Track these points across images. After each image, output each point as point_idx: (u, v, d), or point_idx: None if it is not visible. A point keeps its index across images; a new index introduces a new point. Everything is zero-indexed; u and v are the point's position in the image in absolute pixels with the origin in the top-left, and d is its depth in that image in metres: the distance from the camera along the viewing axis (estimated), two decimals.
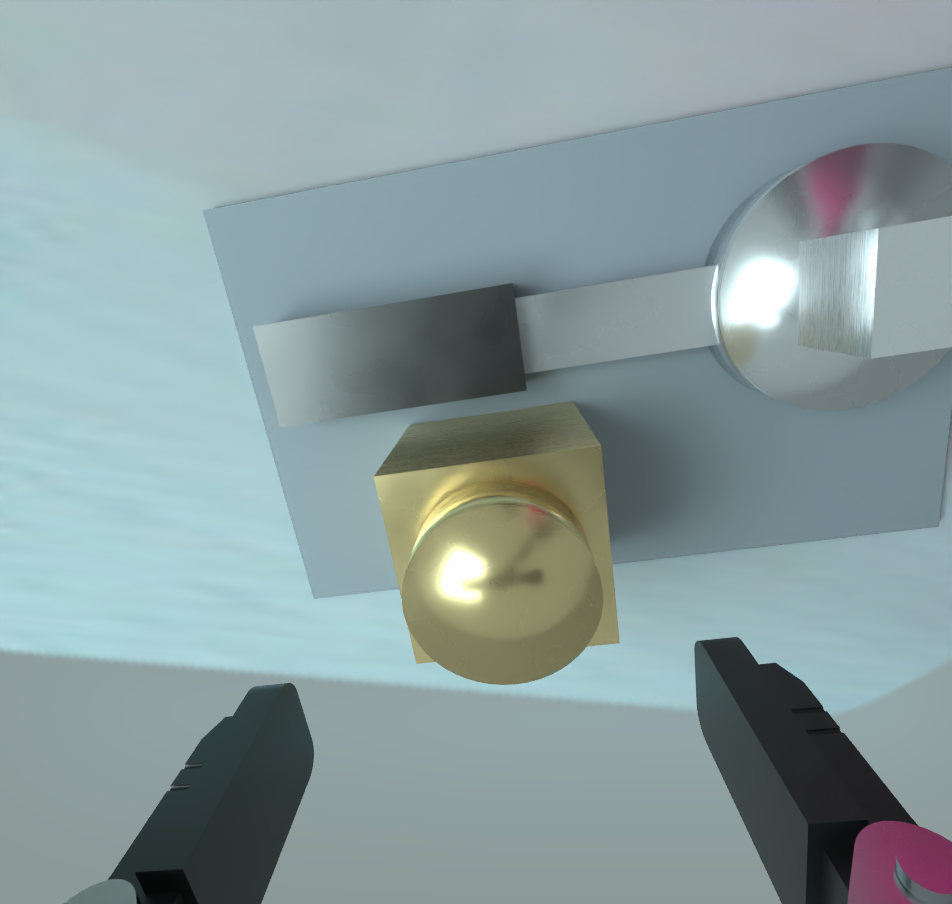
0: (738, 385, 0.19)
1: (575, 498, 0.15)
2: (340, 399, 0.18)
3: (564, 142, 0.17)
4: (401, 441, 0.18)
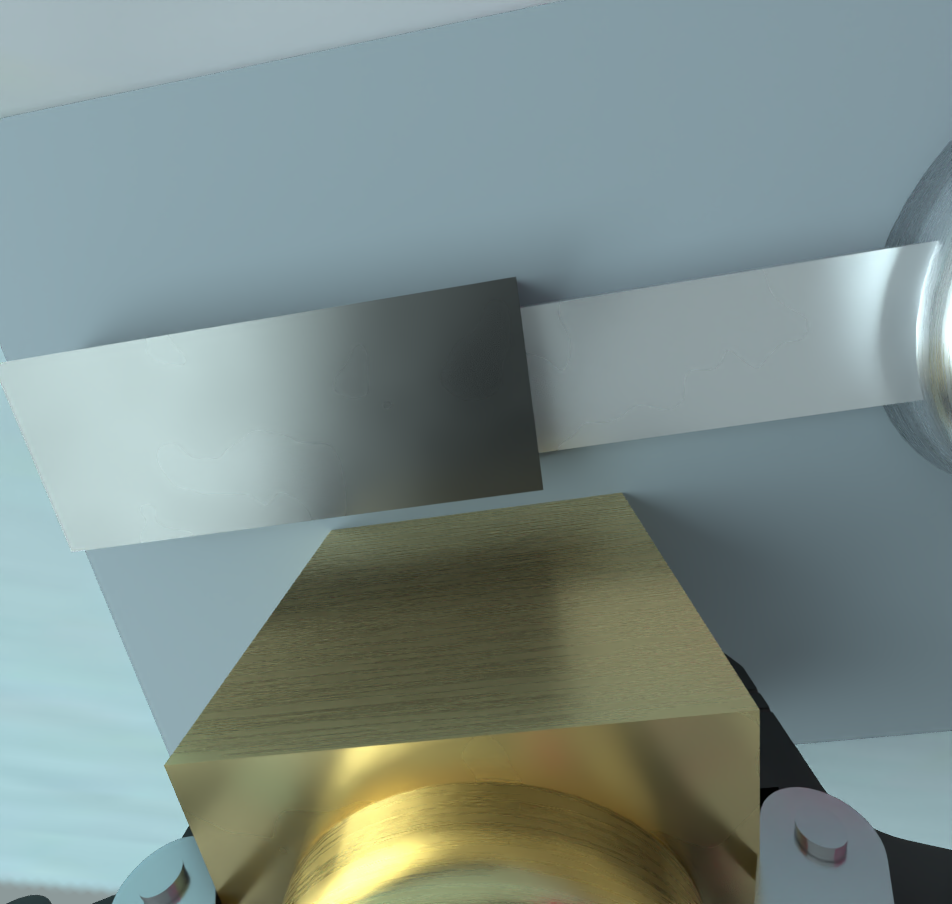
0: (927, 467, 0.11)
1: (680, 822, 0.06)
2: (180, 503, 0.09)
3: None
4: (295, 589, 0.09)
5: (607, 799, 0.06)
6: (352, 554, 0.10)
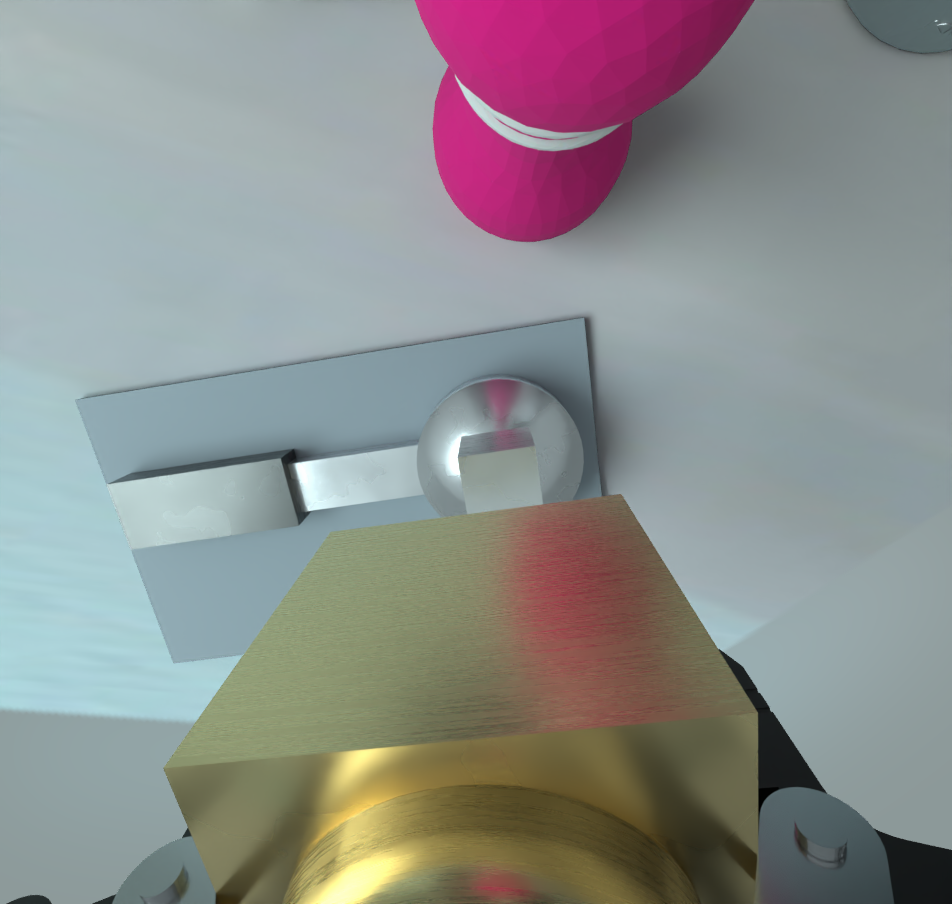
0: None
1: (679, 825, 0.06)
2: (171, 531, 0.26)
3: (318, 361, 0.26)
4: (295, 591, 0.09)
5: (606, 802, 0.06)
6: (352, 556, 0.10)
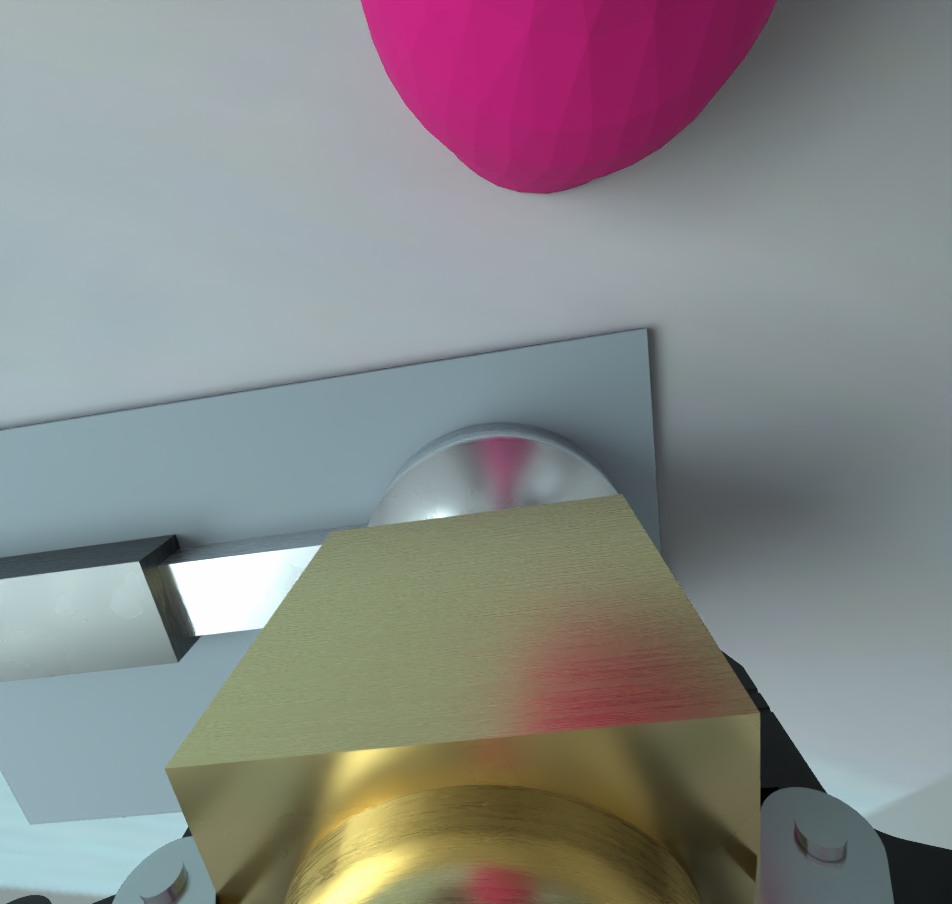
0: None
1: (680, 825, 0.06)
2: None
3: (203, 399, 0.16)
4: (295, 591, 0.09)
5: (608, 802, 0.06)
6: (352, 556, 0.10)
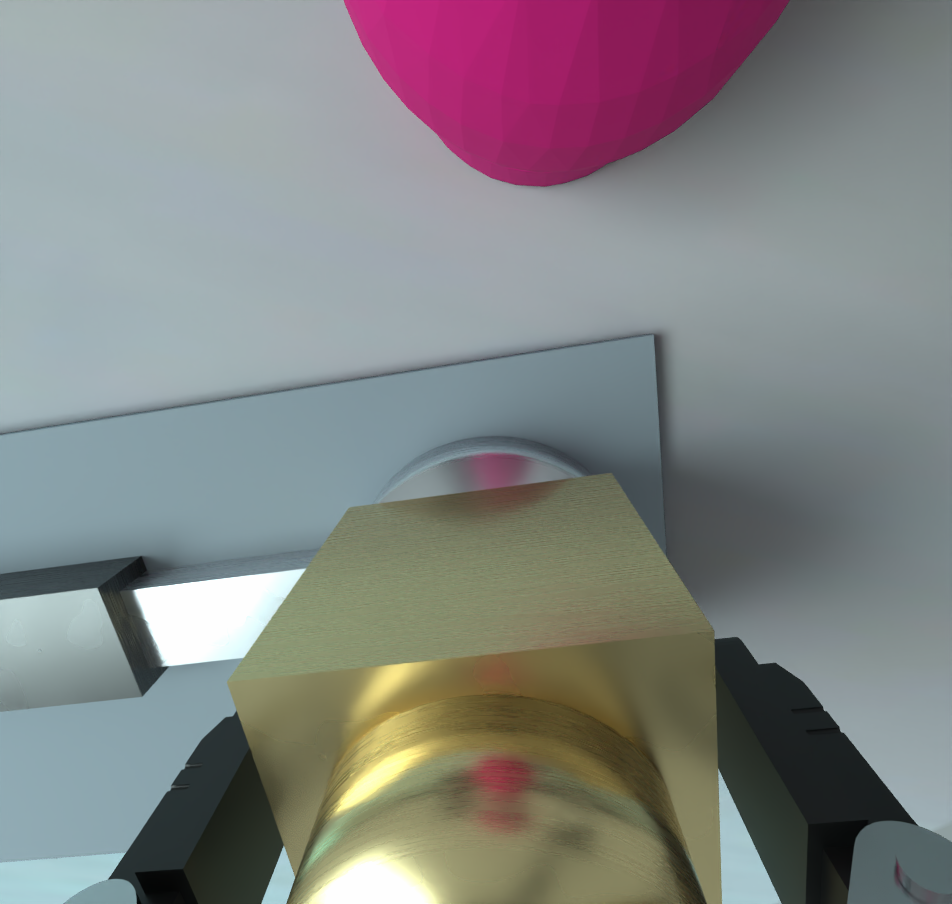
0: None
1: (652, 729, 0.07)
2: None
3: (170, 410, 0.14)
4: (322, 554, 0.10)
5: (591, 708, 0.07)
6: (370, 526, 0.11)
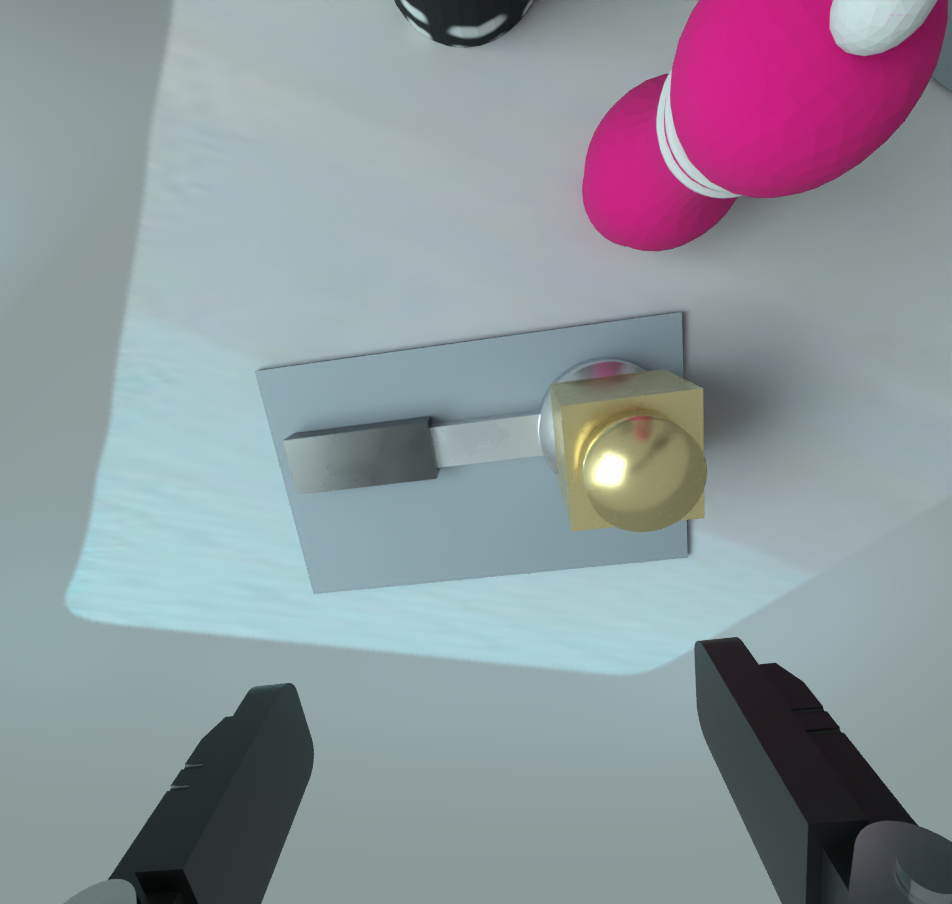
0: None
1: (684, 421, 0.24)
2: (331, 480, 0.32)
3: (458, 343, 0.31)
4: (555, 391, 0.27)
5: (667, 414, 0.24)
6: (567, 385, 0.28)
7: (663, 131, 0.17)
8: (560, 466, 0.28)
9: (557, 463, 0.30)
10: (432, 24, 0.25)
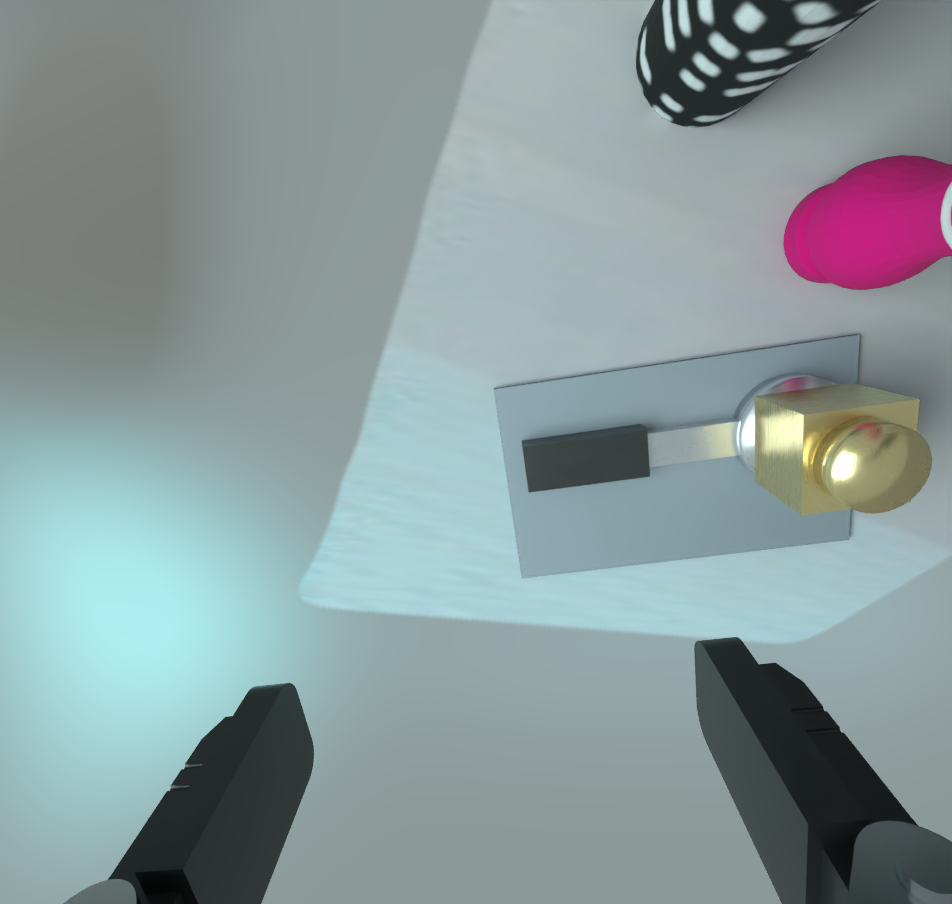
0: (748, 471, 0.39)
1: (902, 425, 0.30)
2: (560, 480, 0.38)
3: (669, 363, 0.37)
4: (774, 402, 0.33)
5: (889, 419, 0.30)
6: (777, 397, 0.34)
7: (948, 217, 0.23)
8: (773, 463, 0.34)
9: (757, 461, 0.37)
10: (683, 113, 0.32)
